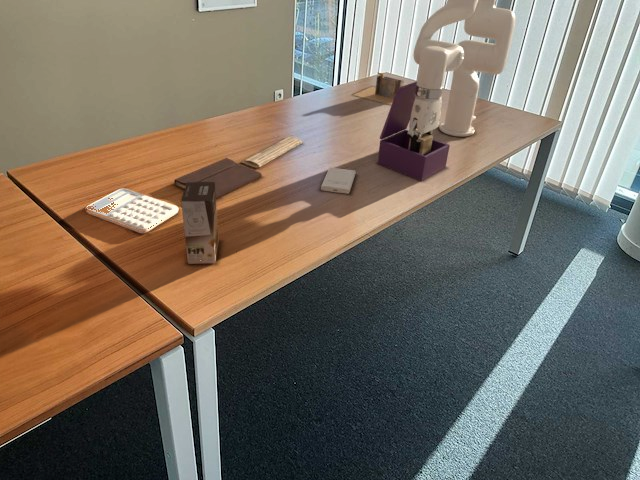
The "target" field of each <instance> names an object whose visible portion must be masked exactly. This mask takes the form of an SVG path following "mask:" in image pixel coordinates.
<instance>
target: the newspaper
mask: <svg viewBox="0 0 640 480" xmlns="http://www.w3.org/2000/svg"><path fill="white" fill-rule="evenodd" d="M301 144H303V141H302V140H301V139H300V138H297V137H295V136H287V137H286V138H283V139H281V140H280V141H278V142H276V143H274V144H272V145H271V146H269V147H267V148H265V149H263V150H261V151H259V152H257V153H256V154H254V155H252V156H250V157H248V158H246V159H244V160H243V161H241V163H240V164H245V165H247V166H250V167H252V168H255V169H259V168H260V167H263V166H264V165H266V164H267V163H270V162H271V161H273V160H275V159H276V158H278V157H280V156H282V155H284V154H285V153H287V152H289V151H290V150H292V149H294V148H296V147H298V146H299V145H301Z"/></svg>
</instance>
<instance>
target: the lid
mask: <svg viewBox="0 0 640 480" xmlns="http://www.w3.org/2000/svg"><path fill="white" fill-rule="evenodd" d="M416 85H417V81H414V82H411V83H408V84H404V85H403V86H402V87H399V88H398V89H397V92H396V95H395V97H394V100H393V103H392V105H390V108H389V112H388V113H387V117H386V119H385V122H384V124H383V127H382V129H381V130H382V131H381V133H380V135H379V140H383V139H385V138H387V137H390V136H392V135H394V134H397V133H399V132H401V131H404V130H408V126H409V125H410V117H411V112H412V108H413V104H414V100H415V92H416Z"/></svg>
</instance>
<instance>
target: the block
mask: <svg viewBox="0 0 640 480" xmlns="http://www.w3.org/2000/svg"><path fill="white" fill-rule="evenodd" d="M415 135H416V136H417V137H418V133H415ZM433 139H434V136H433V135H432V136H431V135H428V134H422V135H421V139H420V142H421V145H420V151H419V154H422V155H424V154H426V153H428V152H430V151H431V146H432V140H433ZM410 143H411V140H410V141H409V148H408V150H410Z"/></svg>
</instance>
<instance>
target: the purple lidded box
mask: <svg viewBox="0 0 640 480" xmlns="http://www.w3.org/2000/svg"><path fill="white" fill-rule="evenodd" d="M408 131H409V129H405V130H403V131H400V132H398V133H396V134H393V135H391V136H389V137H386V138H384V139H382V140H381V139H379V140H380V141H379V148H378V157H377V165H380V166H382V167H384V168H388V169H390V170H393V171H395V172H398V173H401V174H402V175H406V176H407V177H410V178H413V179H416V180H418V181H420V182H423V181H424V180H426V179H428V178H430V177H431V176H434V175H435V174H437V173H439V172H441V171H442V170H445V169H446V167H447V162H448V157H449V151H450V147H451V145H450V144H448V143H445V142H443V141H439V140H437V139H434V138H433V140H432V146H431V151H430V152H428V153H426V154H424V155H422V154H419V153H416V152H413V151H411V150H408V148H409V141H410V136H409V135H408V134H407V133H408Z"/></svg>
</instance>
